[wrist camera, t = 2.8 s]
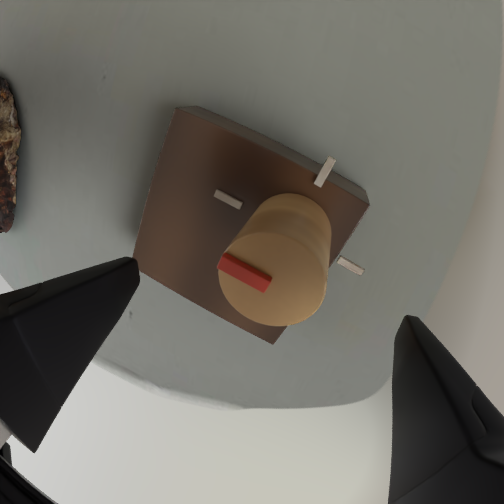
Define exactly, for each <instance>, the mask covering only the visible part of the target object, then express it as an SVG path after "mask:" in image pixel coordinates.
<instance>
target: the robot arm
mask: <svg viewBox="0 0 504 504" xmlns="http://www.w3.org/2000/svg"><path fill="white" fill-rule="evenodd" d="M139 283H140V275H139V268H138V262H137V260H136V259H135V258H131V257H123V258H119V259H116V260H112V261H109V262H106V263H102V264H99V265H96V266H93V267H89V268H86V269H83V270H79V271H76V272H73V273H70V274H67V275H63V276H60V277H57V278H54V279H51V280H48V281H44V282H43V283H38V284H35V285H32V286H29V287H25V288H22V289H18V290H15V291H11V292H8V293H4V294H0V504H58V503H56V502H55V501H53V500H52V499H51V498H49V497H48V496H47V495H46V494H44V493H43V492H42V491H40V490H39V489H38V488H37V487H35V486H34V485H33V484H32V483H31V482H29V481H28V480H27V479H26V478H25V477H24V476H22V475H21V474H20V473H19V472H18V471H17V470H16V469H15V468H13V467H12V461H11V451H10V445H9V444H8V443H7V442H6V440H8V438H9V437H10V436H11V434H12V435H13V436H14V437H15V438H17V439H18V440H19V441H20V442H21V443H22V444H23V445H25V446H26V447H27V448H28V449H29V450H30V451H32V452H33V453H35V452H36V451H37V449H38V447H39V445H40V444H41V442H42V440H43V438H44V436H45V435H46V433H47V431H48V430H49V428H50V426H51V424H52V423H53V421H54V419H55V418H56V416H57V414H58V413H59V411H60V409H61V406H63V404H64V402H65V401H66V399H67V398H68V396H69V394H70V393H71V391H72V389H73V388H74V386H75V385H76V383H77V382H78V380H79V379H80V377H81V375H82V374H83V372H84V371H85V369H86V367H87V366H88V365H89V363H90V362H91V360H92V359H93V357H94V356H95V354H96V352H97V351H98V350H99V348H100V347H101V345H102V344H103V342H104V341H105V339H106V338H107V336H108V335H109V333H110V332H111V330H112V329H113V328H114V326H115V325H116V323H117V322H118V320H119V319H120V317H121V316H122V314H123V312H124V310H125V309H126V307H127V305H128V303H129V301H130V300H131V298H132V296H133V294H134V293H135V291H136V289H137V287H138V286H139ZM392 404H393V406H392V409H393V425H392V426H393V427H392V429H393V430H392V458H391V475H390V487H389V498H388V504H504V416H503V415H502V414H501V413H500V412H499V411H498V410H497V409H496V407H495V406H494V405H493V404H492V403H491V402H490V400H489V399H488V398H487V397H486V396H485V394H484V393H483V392H482V391H481V389H480V388H479V387H478V386H476V383H475V382H474V381H473V380H472V378H471V377H470V376H469V375H468V374H467V372H466V371H465V370H464V369H463V368H462V367H461V365H460V364H459V363H458V362H457V361H456V359H455V358H454V357H453V356H452V355H451V354H450V352H449V351H448V350H447V349H446V348H445V347H444V346H443V344H442V343H441V342H440V341H439V340H438V339H437V338H436V337H435V336H434V334H433V333H432V332H431V331H430V330H429V329H428V328H427V327H426V326H425V324H424V323H423V322H422V321H421V320H420V319H419V318H418V317H416V316H410V315H406V316H405V317H404V318H403V320H402V323H401V325H400V327H399V329H398V332H397V334H396V337H395V342H394V361H393V375H392Z"/></svg>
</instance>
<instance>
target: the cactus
mask: <svg viewBox="0 0 504 504" xmlns="http://www.w3.org/2000/svg"><path fill="white" fill-rule="evenodd" d="M12 97H13V94H11V92H10V90H9V84H8V83H7V81H6V80H5V79H3V78H1V77H0V233H2V232H5V233H6V232H8V231H9V230H10V228H11V227H12V224H13V220H14V214H13V209H14V208H15V205H16V196H15V195H16V189H15V187H16V178H17V176H16V175H15V173H16V171H17V167H16V162H17V160H18V159H19V156H18V155H17V153H16V152H17V149H18V148H19V143H20V140H21V136H20V134H21V129H20V127H19V125H18V120H17V110H16V107H15V105H14V103H13V102H14V100H13V98H12Z"/></svg>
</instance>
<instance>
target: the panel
mask: <svg viewBox="0 0 504 504" xmlns="http://www.w3.org/2000/svg"><path fill="white" fill-rule="evenodd" d="M335 161H336V159H334V158H332V157H331V156H328V158H327V160H326V162H325V163H324V165H323V166H322V165H320V164H319V163H317V162H315V161H313V160H311V159H309V158H307V157H306V156H304V155H302V154H300V153H298V152H296V151H294V150H292V149H290V148H288V147H286V146H284V145H282V144H280V143H278V142H276V141H274V140H272V139H270V138H268V137H266V136H264V135H262V134H260V133H258V132H255V131H253V130H251V129H249V128H247V127H245V126H242V125H240V124H238V123H236V122H234V121H231V120H229V119H227V118H225V117H222V116H220V115H218V114H215V113H213V112H210V111H208V110H206V109H203V108H201V107H198V106H194V107H180V108H175V110H174V113H173V116H172V119H171V122H170V125H169V127H168V130H167V133H166V136H165V139H164V142H163V145H162V149H161V152H160V155H159V158H158V161H157V165H156V168H155V171H154V175H153V178H152V182H151V185H150V189H149V192H148V196H147V200H146V203H145V207H144V211H143V215H142V219H141V223H140V227H139V231H138V235H137V240H136V244H135V248H134V253H133V258H135V259H136V260H137V262H138V268H139V271H141V272H143V273H144V274H146V275H148V276H149V277H151V278H153V279H154V280H156V281H158V282H159V283H161V284H163V285H164V286H166V287H168V288H169V289H171V290H173V291H175V292H176V293H178V294H180V295H181V296H183V297H185V298H187V299H188V300H190V301H192V302H194V303H196V304H197V305H199V306H201V307H203V308H204V309H206V310H208V311H210V312H212V313H214V314H215V315H217V316H219V317H221V318H223V319H225V320H226V321H228V322H230V323H232V324H234V325H236V326H238V327H240V328H242V329H243V330H245V331H247V332H249V333H251V334H253V335H255V336H257V337H259V338H261V339H263V340H265V341H267V342H269V343H271V344H274V343H275V342H276V340H277V339H278V338H279V336H280V335H281V334H282V332H283V331H284V330H285V329H286V327H287V326H270V325H265V324H261V323H258V322H255V321H253V320H251V319H249V318H247V317H245V316H244V315H242V314H241V313H239V312H238V311H237V310H236V309H235V308H234V307H233V306H232V305H231V304H230V303H229V301H228V300H227V299H226V297H225V295H224V293H223V291H222V289H221V286H220V282H219V275H218V271H219V269H217V266H218V263H219V261H220V259H221V257H222V255H223V253H224V251H225V250H226V249H227V247H228V246H229V245H230V244H231V242H232V241H233V240H234V238H235V237H236V236H237V234H238V233H239V232H240V230H241V229H242V228H243V227H244V225H245V224H246V223H247V221H248V220H249V219H250V217H251V216H252V215H253V214H254V212H255V211H256V210H257V208H258V207H259V206H260V205H261V204H262V203H263V202H264V201H266V200H267V199H269V198H271V197H273V196H275V195H279V194H285V193H292V194H299V195H302V196H305V197H307V198H309V199H311V200H313V201H314V202H316V203H317V204H318V205H319V206H320V207H321V208H322V209H323V210H324V212H325V213H326V215H327V217H328V219H329V222H330V225H331V232H332V235H331V247H330V258H329V267H330V266H331V265H332V263H333V262H334V260H335V259H336V257H337V256H338V254H339V253H340V251H341V250H342V248H343V247H344V245H345V244H346V242H347V241H348V239H349V238H350V236H351V235H352V233H353V232H354V230H355V229H356V227H357V226H358V224H359V222H360V221H361V219H362V218H363V216H364V215H365V213H366V211H367V210H368V208H369V207H370V203H369V200H368V197H367V193H366V191H365V190H364V189H362V188H361V187H359V186H357V185H356V184H354V183H352V182H350V181H349V180H347V179H345V178H344V177H342V176H340V175H338V174H337V173H335V172H333V171H331V169H332V167H333V165H334V163H335ZM337 263H339V264H340V265H342V266H344V267H346V268H348V269H349V270H351V271H353V272H355V273H356V274H358V275H360V276H361V275H362V274H363V272H364V271H365V269H363V268H362V267H360V266H358V265H357V264H355V263H353V262H351V261H350V260H348V259H346V258H344V257H342V256H340V257H339V259H338V260H337ZM328 269H329V268H328Z"/></svg>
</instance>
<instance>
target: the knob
mask: <svg viewBox="0 0 504 504" xmlns="http://www.w3.org/2000/svg"><path fill="white" fill-rule="evenodd" d="M331 235H332V232H331V225H330V222H329V219H328V217H327V215H326V213H325V212H324V210H323V209H322V208H321V207H320V206H319V205H318V204H317V203H316V202H314V201H313V200H311V199H309V198H307V197H305V196H302V195H299V194H292V193H285V194H279V195H275V196H273V197H271V198H269V199H267V200H266V201H264V202H263V203H262V204H261V205H260V206H259V207H258V208H257V210H256V211H255V212H254V214H253V215H252V216H251V217H250V219H249V220H248V221H247V223H246V224H245V225H244V227H243V228H242V229H241V230H240V232H239V233H238V234H237V236H236V237H235V238H234V240H233V241H232V242H231V244H230V245H229V246H228V247H227V249H226V250H225V251H224V253H223V255H222V257H221V259H220V261H219V263H218V266H217V269H219V271H218V275H219V282H220V286H221V289H222V291H223V293H224V295H225V297H226V299H227V300H228V301H229V303H230V304H231V305H232V306H233V307H234V308H235V309H236V310H237V311H238V312H239V313H241V314H242V315H244V316H245V317H247V318H249V319H251V320H253V321H255V322H258V323H261V324H265V325H270V326H288V325H293V324H296V323H299V322H301V321H304V320H305V319H307V318H309V317H310V316H311V315H312V314H314V313H315V312H316V310H317V309H318V308H319V307H320V305H321V304H322V302H323V299H324V297H325V293H326V287H327V278H328V268H329V258H330V247H331Z"/></svg>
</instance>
